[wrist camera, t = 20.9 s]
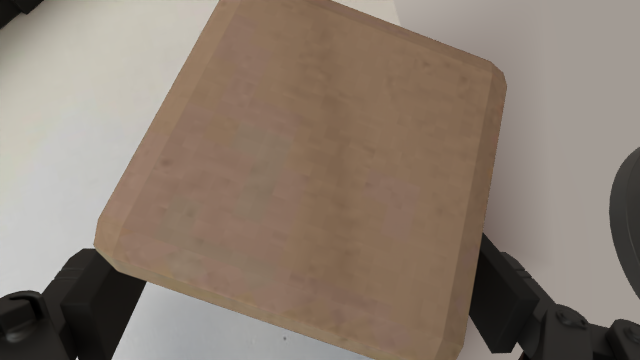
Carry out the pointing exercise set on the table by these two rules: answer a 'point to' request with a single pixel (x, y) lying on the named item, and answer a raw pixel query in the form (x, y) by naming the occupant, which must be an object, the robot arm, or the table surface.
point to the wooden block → (317, 178)
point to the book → (15, 9)
